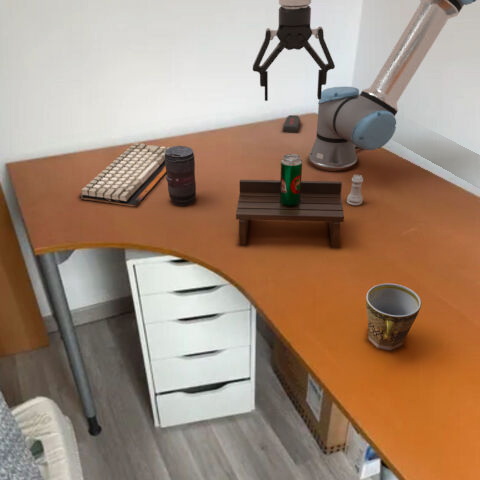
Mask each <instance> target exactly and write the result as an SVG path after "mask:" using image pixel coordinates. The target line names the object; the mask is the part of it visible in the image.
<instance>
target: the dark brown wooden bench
mask: <svg viewBox="0 0 480 480" xmlns="http://www.w3.org/2000/svg"><path fill="white" fill-rule="evenodd" d="M342 186H343V181H335V180H334V181H332V180H301V194H300V203H299V204H298V205H296V206H293V207H287V206H284V205H282V204H281V202H280V179H278V180H277V179H276V180H275V179H271V180H270V179H239V193H238V194H239V195H238V199H237V206H236V212H235V220H238V231H239V232H238V242H239V243H238V244H239V246H246V243H247V235H248V227H249V221H283V222H284V221H285V222H286V221H288V222H296V221H297V222H322V223H323V222H325V223H326V222H328V227H329V235H330V245H331V248H332V249H338V248H339V241H340V233H341V232H340V231H341V223H344V222H345V214H344V207H343V206H344V205H343V201H342V200H343V199H342Z"/></svg>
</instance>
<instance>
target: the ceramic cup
mask: <svg viewBox="0 0 480 480" xmlns="http://www.w3.org/2000/svg"><path fill="white" fill-rule="evenodd" d="M365 300H366V301H365V306H366V317H367V331H368V332H367V334H368V340H369V341H370V342H371V343H372V344H373V345H374V346H375V347H376V348H377V349H380V350H386V351H392V350H394V349H397V348H399V347H401V346H402V345H403V344H404V342H405V340H406V338H407V336H408V334H409V332H410V330H411V327H412V326H413V325H414V323H415V321H416V319H417V317H418V315H419V313H420V310H421V308H422V300H421V298H420V296H419V295H418V294H417V293H416V292H415V291H414V290H413V289H411V288H409V287H407V286H404V285H401V284H397V283H380V284H376V285H374V286H373V287H371V288H370V289H369V290H368V291H367V293H366V297H365Z"/></svg>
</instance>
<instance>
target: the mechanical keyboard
mask: <svg viewBox="0 0 480 480" xmlns="http://www.w3.org/2000/svg"><path fill="white" fill-rule="evenodd" d="M170 147H171V146H169V147H168V146H167V147H166V146H159V145H152V144H146V143H138V142H134V143H133V144H132V145H130V146H129V148H127V149H126V150H125V149H124V152H122V153H121V154H120V155H118V156H117V157H116V158H115V159H114V160H113V161H112V163H110V164H109V165H108V166H106V167H105V169H103V170H102V171H101V172H100V173H98V174H97V176H94V178H93V179H92V180H90V181H89V183H87V184H86V185H85V186H84V187H82V188H81V193H80V194H79V197H80V199H81V200H84V201H91V202H92V201H94V202H97V203H98V202H99V203H106V204H112V205H118V206H119V205H120V206H126V207H133V208H137V207H138V205H139V204H140V203H141V201H143V200H144V199H145V198H146V196H147V195H149V193H150V192H151V190H152V189H153V188H154V187H155V186H156V185H157V184H158V182H159V181H160V180H161V179H162V178H163V177H164V176H165V175H166V174H167V171H166V167H165V150H166V149H168V148H170Z"/></svg>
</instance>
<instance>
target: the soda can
mask: <svg viewBox="0 0 480 480" xmlns="http://www.w3.org/2000/svg"><path fill="white" fill-rule="evenodd" d="M302 173H303V160H302V156H301V155H299V154H297V153H287V154H284V155H283V156H282V159H281V160H280V176H279V177H280V179H279V180H280V202H281V204H282V205H284V206H287V207H293V206H296V205H298V204H299V203H300V194H301V181H302Z"/></svg>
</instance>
